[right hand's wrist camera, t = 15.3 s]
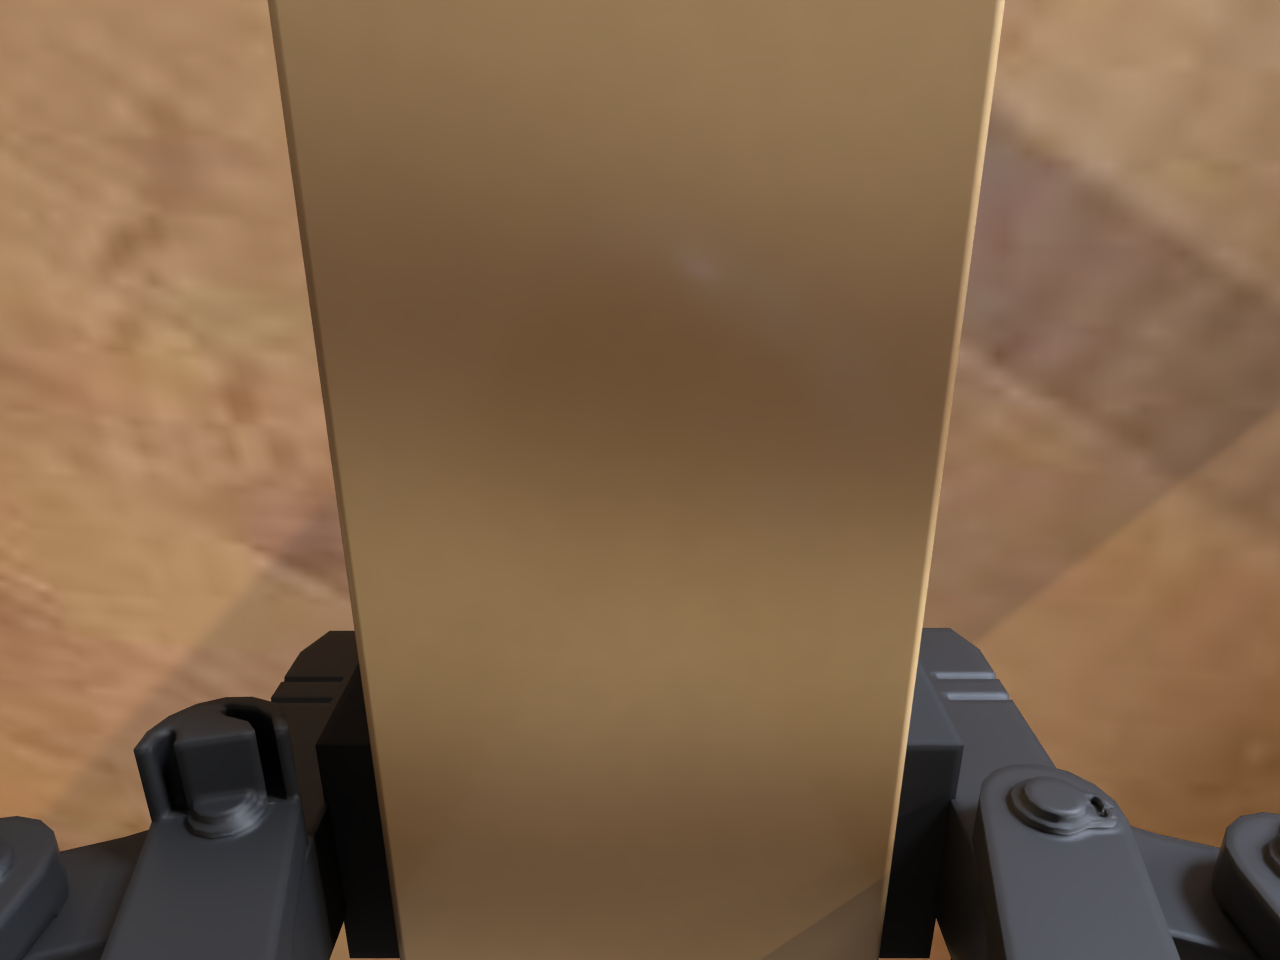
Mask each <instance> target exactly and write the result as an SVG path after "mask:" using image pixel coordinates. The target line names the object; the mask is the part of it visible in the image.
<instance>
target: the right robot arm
mask: <svg viewBox="0 0 1280 960" xmlns="http://www.w3.org/2000/svg"><path fill="white" fill-rule="evenodd" d="M134 754H135V758H136V762H137V765H138V769H139V773H140V777H141V781H142V785H143V789H144V793H145V797H146V801H147V805H148V808H149V812H150V816H151V820H152V823H151V826H150V828H149V830H147V831H143V832H140V833H137V834H133V835H130V836H127V837H123V838H119V839H114V840H110V841H105V842H101V843H96V844H92V845H88V846H83V847H79V848H74V849H70V850H65V851H61V852H60V851H59V848H58V844H57V841H56V838H55V835H54V831H52V830H51V829H50V828H49V827H48V826H47V825H45V824H44V823H43V822H42V821H41V820H37V819H31V818H25V817H19V816H14V817H6V818H0V960H329V959H330V957H331V954H332V951H333V949H334V946H335V943H336V941H337V938H338V935H339V932H340V930H341V927H342V924H343V922H344V924H345V930H346V936H347V943H348V949H349V955H350V958H400V955H399V948H398V941H397V933H396V926H395V919H394V912H393V905H392V897H391V890H390V883H389V876H388V868H387V861H386V854H385V847H384V839H383V832H382V825H381V818H380V810H379V803H378V796H377V789H376V781H375V774H374V767H373V760H372V752H371V745H370V738H369V731H368V723H367V716H366V709H365V702H364V694H363V687H362V680H361V673H360V665H359V658H358V651H357V644H356V637H355V631H329V632H328V633H326V634H325V635H324V636H322V637H321V638H319V639H318V640H317V641H315V642H314V643H313V644H311V645H310V646H308V647H307V648H306V649H304V650H303V651H302V652H300V654H299V655H298V657H297V658H296V660H295V662H294V663H293V665H292V666H291V668H290V669H289V671H288V672H287V674H286V676H285V680H284V682H281V683H280V685H279V686H278V688H277V690H276V691H275V693H274V694H273V696H272V697H271V702H270V701H267V700H263V699H259V698H255V697H225V698H221V699H216V700H212V701H208V702H203V703H199V704H196V705H193V706H191V707H189V708H186V709H184V710H182V711H179V712H177V713H175V714H173V715H170V716H169V717H167V718H166V719H164V720H163V721H162V722H160V723H159V724H157V725H156V726H155V727H153V728H152V729H150V730H149V731H147V733H146V734H145V735H144V737H143V738H142V739H141V741H140V742H139V743H138V744H137V746H136V747H135V748H134ZM936 919H937V921H938V924H939V927H940V930H941V932H942V935H943V938H944V940H945V943H946V946H947V948H948V951H949V954H950V956H951V960H1280V814H1273V813H1265V812H1262V813H1257V814H1251V815H1245V816H1240V817H1239V818H1238V819H1236V820H1235V821H1234V822H1233V823H1232V824H1231V825H1229V826H1228V827H1227V829H1226V832H1225V836H1224V839H1223V842H1222V845H1221V848H1218V847H1213V846H1209V845H1204V844H1200V843H1195V842H1191V841H1186V840H1182V839H1177V838H1173V837H1169V836H1164V835H1160V834H1156V833H1152V832H1149V831H1145V830H1142V829H1139V828H1135V827H1132V826H1130V824H1129V822H1128V820H1127V818H1126V817H1125V815H1124V814H1123V812H1122V811H1121V809H1120V808H1119V806H1118V804H1117V803H1116V801H1114V800H1113V799H1112V798H1111V797H1109V796H1108V795H1107V794H1106V793H1104V792H1103V791H1102V790H1101V789H1099V788H1098V787H1097V786H1096V785H1095V784H1093V783H1091V782H1088V781H1086V780H1084V779H1082V778H1080V777H1078V776H1076V775H1074V774H1072V773H1070V772H1068V771H1064V770H1060V769H1057V768H1056V767H1055V765H1054V764H1053V762H1052V761H1051V759H1050V758H1049V756H1048V755H1047V753H1046V751H1045V750H1044V748H1043V747H1042V745H1041V744H1040V742H1039V741H1038V739H1037V738H1036V736H1035V734H1034V733H1033V731H1032V730H1031V728H1030V727H1029V725H1028V724H1027V722H1026V721H1025V719H1024V717H1023V716H1022V714H1021V713H1020V711H1019V710H1018V708H1017V707H1016V705H1015V704H1014V702H1013V700H1009V694H1008V693H1007V691H1006V690H1005V688H1004V687H1003V685H1002V683H1001V682H1000V680H999V679H996V677H995V673H994V671H993V670H992V668H991V666H990V665H989V663H988V662H987V660H986V659H985V657H984V656H983V654H982V653H981V651H980V649H978V648H977V647H975V646H974V645H973V644H971V643H970V642H968V641H967V640H966V639H964V638H963V637H962V636H960V635H959V634H957V633H956V632H955V631H953V630H952V629H951V628H922V635H921V642H920V650H919V657H918V665H917V672H916V680H915V688H914V695H913V703H912V710H911V718H910V726H909V733H908V741H907V748H906V756H905V763H904V771H903V779H902V786H901V794H900V801H899V809H898V817H897V824H896V832H895V839H894V847H893V854H892V862H891V870H890V877H889V885H888V892H887V900H886V908H885V915H884V923H883V930H882V938H881V945H880V953H879V958H930V952H931V945H932V939H933V933H934V927H935V921H936Z"/></svg>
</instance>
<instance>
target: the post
mask: <svg viewBox="0 0 1280 960" xmlns="http://www.w3.org/2000/svg"><path fill="white" fill-rule="evenodd" d="M1004 5H1005V0H268V6H269V14H270V21H271V28H272V35H273V43H274V50H275V57H276V64H277V72H278V79H279V86H280V93H281V101H282V108H283V115H284V122H285V130H286V137H287V144H288V151H289V159H290V166H291V173H292V180H293V187H294V195H295V202H296V209H297V216H298V224H299V231H300V238H301V245H302V253H303V260H304V267H305V274H306V282H307V289H308V296H309V303H310V311H311V318H312V325H313V332H314V340H315V347H316V354H317V361H318V369H319V376H320V383H321V390H322V398H323V405H324V412H325V419H326V426H327V434H328V441H329V448H330V455H331V463H332V470H333V477H334V484H335V492H336V499H337V506H338V513H339V521H340V528H341V535H342V542H343V550H344V557H345V564H346V571H347V579H348V586H349V593H350V600H351V608H352V615H353V622H354V629H355V637H356V644H357V651H358V658H359V665H360V673H361V680H362V687H363V694H364V702H365V709H366V716H367V723H368V731H369V738H370V745H371V752H372V760H373V767H374V774H375V781H376V789H377V796H378V803H379V810H380V818H381V825H382V832H383V839H384V847H385V854H386V861H387V868H388V876H389V883H390V890H391V897H392V905H393V912H394V919H395V926H396V933H397V941H398V948H399V955H400V960H879V953H880V945H881V938H882V930H883V923H884V915H885V908H886V900H887V892H888V885H889V877H890V870H891V862H892V854H893V847H894V839H895V832H896V824H897V817H898V809H899V801H900V794H901V786H902V779H903V771H904V763H905V756H906V748H907V741H908V733H909V726H910V718H911V710H912V703H913V695H914V688H915V680H916V672H917V665H918V657H919V650H920V642H921V635H922V627H923V619H924V612H925V604H926V597H927V589H928V581H929V574H930V566H931V559H932V551H933V544H934V536H935V528H936V521H937V513H938V506H939V498H940V490H941V483H942V475H943V468H944V460H945V453H946V445H947V437H948V430H949V422H950V415H951V407H952V399H953V392H954V384H955V377H956V369H957V362H958V354H959V346H960V339H961V331H962V324H963V316H964V308H965V301H966V293H967V286H968V278H969V271H970V263H971V255H972V248H973V240H974V233H975V225H976V217H977V210H978V202H979V195H980V187H981V180H982V172H983V164H984V157H985V149H986V142H987V134H988V126H989V119H990V111H991V104H992V96H993V89H994V81H995V73H996V66H997V58H998V51H999V43H1000V35H1001V28H1002V20H1003V13H1004Z"/></svg>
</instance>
